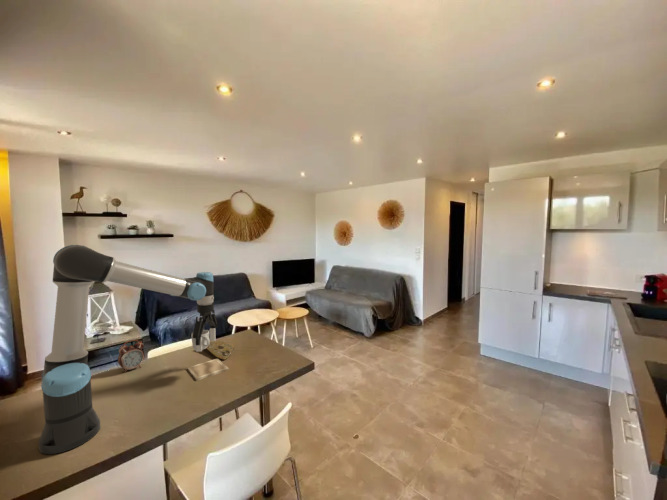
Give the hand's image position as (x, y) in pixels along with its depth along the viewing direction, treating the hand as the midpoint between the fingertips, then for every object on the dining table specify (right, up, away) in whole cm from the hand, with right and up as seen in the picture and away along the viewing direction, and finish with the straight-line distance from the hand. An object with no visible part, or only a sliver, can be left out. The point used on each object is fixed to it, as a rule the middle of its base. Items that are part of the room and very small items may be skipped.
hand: (206, 345), depth 140 cm
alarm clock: (-38, -13, +2) cm, 41 cm away
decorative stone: (-2, -13, +23) cm, 26 cm away
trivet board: (0, -12, +1) cm, 13 cm away
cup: (0, -1, -4) cm, 4 cm away
